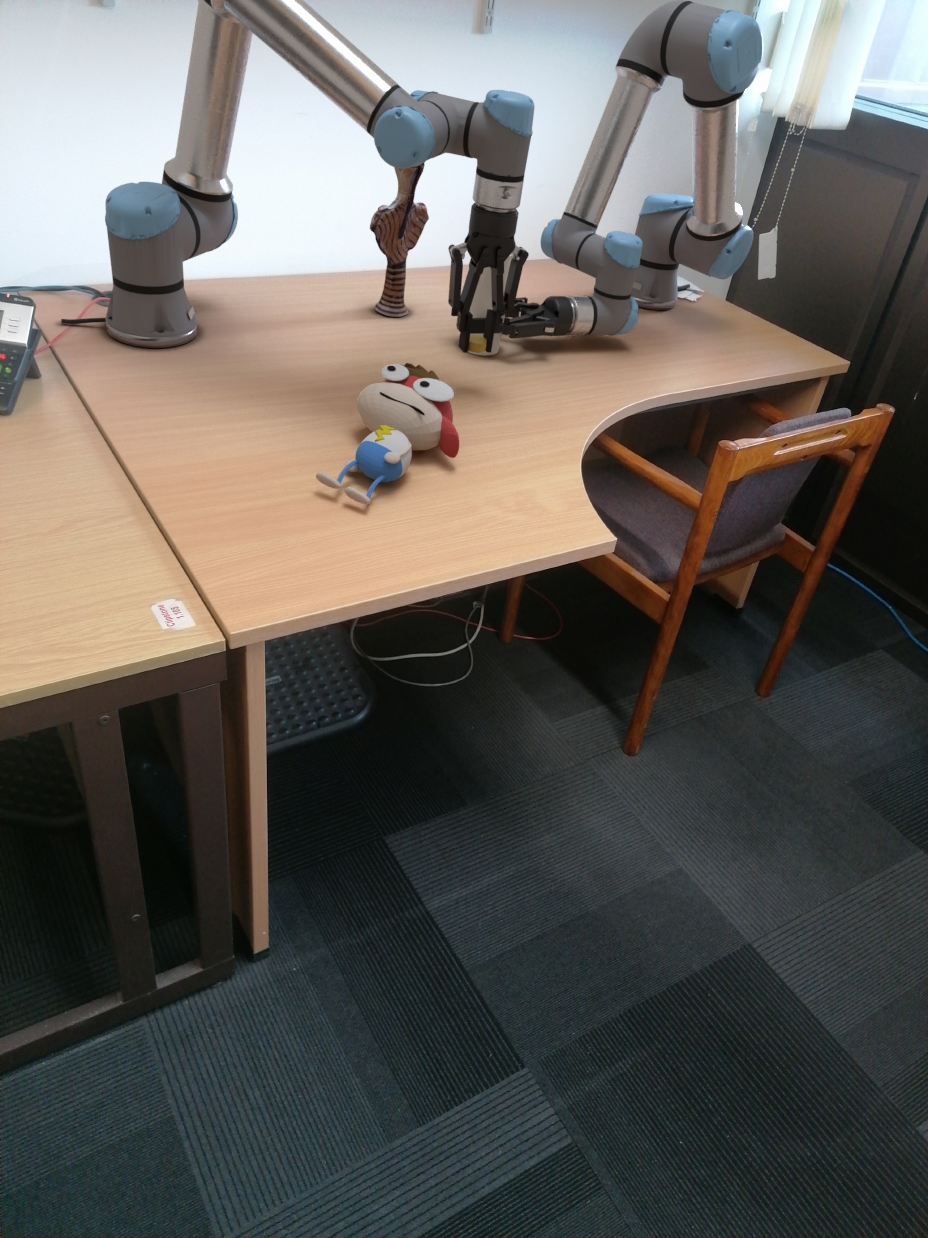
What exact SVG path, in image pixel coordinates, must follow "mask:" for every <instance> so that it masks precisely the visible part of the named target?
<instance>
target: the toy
mask: <svg viewBox="0 0 928 1238" xmlns="http://www.w3.org/2000/svg"><path fill="white" fill-rule="evenodd" d="M380 371H381V372H380V373H381V376H382V377H383V378H384V379H385V381H381V382H374V383H371V384H369V385H368V386H366V387H365V388H363V389H362V390H361V391H360V393H359V395H358V397H357V399H356V404H357V406H356V407H357V412H358V414H359V417H360V418H361V420H362V422H363V424H365V426H366V427H367V428H368V429H369V430H370V431H371V433H369V434H368V435H367V436H365V438H364V439H362V441H361V442H360V443H359V445H358V447H357V449H356V451H355V457H354V459H353V460H348V461H347V462H345V464H344V465H345V466H344V468H343V469H342V470H341V472H340V473H339V475H338V477H337V479H336V478H334V477H333V476H331V475H330V474H327V473H325V472H322V471H318V472H316V474H315V478H316V480H317V482H318V483H319V482H320V483H321V484H322V485H324V486H326V487H328V488H331V489H334V490H339V489H341V488H342V482H343V479H344V477H345V475H346V474H347V473H348V472H350V473H356V472H358V471H360V472H362V474H364V475H365V476H366V477H368V478H369V479H372V480H374V481H373V482H372V483H371V485H370V486H369V488H368V489H367V492H366V494H365V493H363V492H362V491H360V490H359V489H356V488H354V487H352V486H347V487H345V489H344V493H345V494H344V495H346V496H347V497H348V498H350V499H351V500H353V501H354V502H357V503H360V504H364V505H369V504H371V496H372V494H373V491H374V490H375V488H376V487H377V486H378V485H379V483H389V482H391V483H392V482H394V481H396V480H399V479H400V478H401V477H402V476H403V475H405V473H406V472H407V471H408V469H409V468H410V467H409V466H410V464H411V461H412V457H413V451H428V450H431V449H433V448H434V447H438V448H439V450H440V451H441V452H442V453H443V454H444V455H445V456H446V457H448V458H450V459H455V458H456V457H457V456H458V454H459V449H460V437H459V433H458V430H457V428H456V427H455V425H454V423H453V422H454V421H453V420H454V412H453V407H452V404H451V403H452V402H451V400H452V399H453V398H454V397H455V392H454V390H453V388H452V387H451V386H450V385H448V384H447V383H446V382H444V381H442V380H440V378H439V376H438V375H437V373H436V372H435V371H434V370H433V369H430V370H429V371H428V370H427V369H426V368H424V367H423V366H422V365H421V364H417V365H416V366H415V365H413V363H409V362H406V363H405V364H404V365H403V364H398V363H391V364H386V365H385V366H384V367H382V369H381V370H380Z"/></svg>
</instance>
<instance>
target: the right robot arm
mask: <svg viewBox="0 0 928 1238" xmlns="http://www.w3.org/2000/svg"><path fill="white" fill-rule="evenodd" d="M763 53H764V37H763V32H762V29H761V26H760V24H759V22H758V21H757V20H756V19H755V18H753V17H752V16H751V15H748V14H745V13H742V12H740V11H739V10H736V9H722V8H719V7H714V6H710V5H706V4H702V3H697V2H693V1H691V0H672V1H669V2H667V3H663V4H662V5H660V6H658V7H657V8H655V9H654V10H653V11H651V13H649V14H647V16H645V18H644V19H643V20H642V21H641V22H640V23H639V24H638V26H637V27H636V28H635V30H634V31H633V33H632V34H630V37H629V39H627V41H626V43H625V45H624V46H623V48H622V50H621V52H620V55H619V57H618V59H617V63H616V64H615V68H614V72H615V76H616V79H615V81H614V84H613V86H612V90H611V92H610V95H609V97H608V100H607V102H606V105H605V107H604V109H603V111H602V114H601V118H600V120H599V123H598V125H597V128H596V130H595V132H594V135H593V137H592V140H591V143H590V145H589V148H588V150H587V152H586V155H585V158H584V160H583V162H582V165H581V168H580V171H579V173H578V176H577V178H576V180H575V183H574V186H573V188H572V191H571V193H570V196H569V198H568V201H567V204H566V205H565V209H564V211H563V212H562V216H561V218H553V219H551V220H550V221H549V222H548V223H547V226H544V228H543V230H542V233H541V236H540V249H541V251H542V253H543V254H544V255H545V256H546V257H548V258H550V259H551V260H554V261H555V262H557V263H558V264H561V265H562V264H563V265H565V266H567V267H569V268H572V269H574V270H577V271H579V272H581V273H583V274H586V275H587V276H589V277H592V278H594V279H595V281H594V286H593V293H592V295H567V296H565V295H550V296H547V297H546V298H545V300H544V301H543V302H542V303H541V304H540V303H538V302H530V303H529V298H528V297H526V296H524V297H516V300H515V304H514V308H513V310H511V311H509V310H507V311H505V316H504V322H503V323H502V321H503V319H502V318H501V322H500V328H499V331H498V332H494V333H500V332H502V334H501V335H504V336H508V338H509V339H511V340H512V339H525V338H532V337H533V338H534V337H564V336H571V337H572V338H576V336H617V335H624V334H629V333H631V332H632V331H633V330H634V329H635V328H636V325H638V324H637V323H638V320H639V315H638V313H639V308H640V309H646V310H652V311H666V310H671V309H674V308H675V307H676V305H677V301H678V299H679V297H678V295H679V294H678V293H679V292H678V291H680V290H685V289H690V287H691V284H689V283H687V284H684V285H679V286H678V270H679V266H680V265H681V266H683V267H686V268H689V269H690V270H693V271H695V272H698V273H700V274H703V275H705V276H707V277H709V278H714V279H717V280H727V279H728V278H730V277H732V276H733V275H734V274H735V273H737V271H738V270H739V269H740V268H741V266H742V265H743V263H744V261H745V260H746V258H747V256H748V254H749V253H750V250H751V248H752V245H753V242H754V231H753V229H752V228H751V227H750V226H749V225H747V224H745V225H744V224H743V209H742V207H741V205H740V204H739V203H738V202H736V193H737V190H736V189H737V162H738V161H737V160H738V159H737V156H738V127H739V126H738V125H739V100H740V99H741V98H742V97H743V96H744V95H745V94H746V92H747V89H749V87H750V86H751V85H752V84H753V83H754V81H755V79H756V77H757V75H758V72H759V70H760V69H759V65H760V63H762V59H763ZM669 76H670V77H673V78H677V79H679V80H681V81H682V97H683V101H684V102H685V103H686V104H687V105H688V106H690V107H691V108H690V109H691V165H692V167H691V168H692V196H689V195H684V194H677V193H651V194H649V195H647V196H646V197H645V199H644V200H643V203H642V206H641V209H640V212H639V214H638V220H637V224H636V230H635V233H630V232H626V231H623V230H612V231H609V232H608V233H607V234H606V235H605V236H602V235H599V234H598V233H597V230H598V228H599V225H600V222H601V220H602V218H603V215H604V213H605V210H606V208H607V205H608V203H609V202H610V199H611V196H612V194H613V191H614V189H615V186H616V184H617V182H618V179H619V177H620V174H621V172H622V169H623V167H624V164H625V163H626V160H627V157H628V156H629V153H630V150H631V148H632V146H633V143H634V141H635V138H636V136H637V133H638V131H639V129H640V126H641V124H642V122H643V119H644V117H645V114H646V112H647V110H648V108H649V105H650V103H651V100H652V98H653V96H654V94H655V93H657V92H660V91H661V90H662V87H663V85H664V83H665V80H666V78H668V77H669ZM450 311H451V312H450V316H452V317H457V316H458V311H457V310H454V309H453V308H452V307H451V310H450ZM485 321H486V318H472V325H471V332H470V334H483V333H484V328H485Z"/></svg>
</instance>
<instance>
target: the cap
mask: <svg viewBox="0 0 928 1238" xmlns="http://www.w3.org/2000/svg"><path fill="white" fill-rule="evenodd" d="M486 346H487V339H486V338H484V337H482V336H479V335H470V340H469V347H468V351H470V352H475V353H481V352H484V351H485V350H486Z"/></svg>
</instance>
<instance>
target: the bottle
mask: <svg viewBox="0 0 928 1238" xmlns="http://www.w3.org/2000/svg"><path fill="white" fill-rule="evenodd" d="M511 254H512V253H511ZM511 254H510V255H509V257H508V258H507V259H506V260H505V262H504V274H503V296H504V291H505V286H506V281H507V277H508V272H509V267H510V263H511V260H512V257H511ZM487 309H491V310H493V308H492V287H491V268H490V267H487V268H484V270H483V273H482V274H481V275H480V279H479V282H478V285H477V288H476V291H475V294H474V298H473V301H472V304H471V307H470V310H469V311H470V312H471V314H472V315H473V318H486V314H487ZM504 316H505V314H504V315H503V316H501V318H502V319H503V321H502V323H504ZM483 334H484V333H483ZM483 334H470V335H479V336H482V337H483ZM502 335H503V334H502V332H500V333H494V338H493V344H492V350H491V352H486V350H485V351H484V352H481V353H475V352H470V351H468V353H470V354H472V355H476V356H485V357H486V356H493V355H497V354H498V353H499V351H500V345H501V339H502Z"/></svg>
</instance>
